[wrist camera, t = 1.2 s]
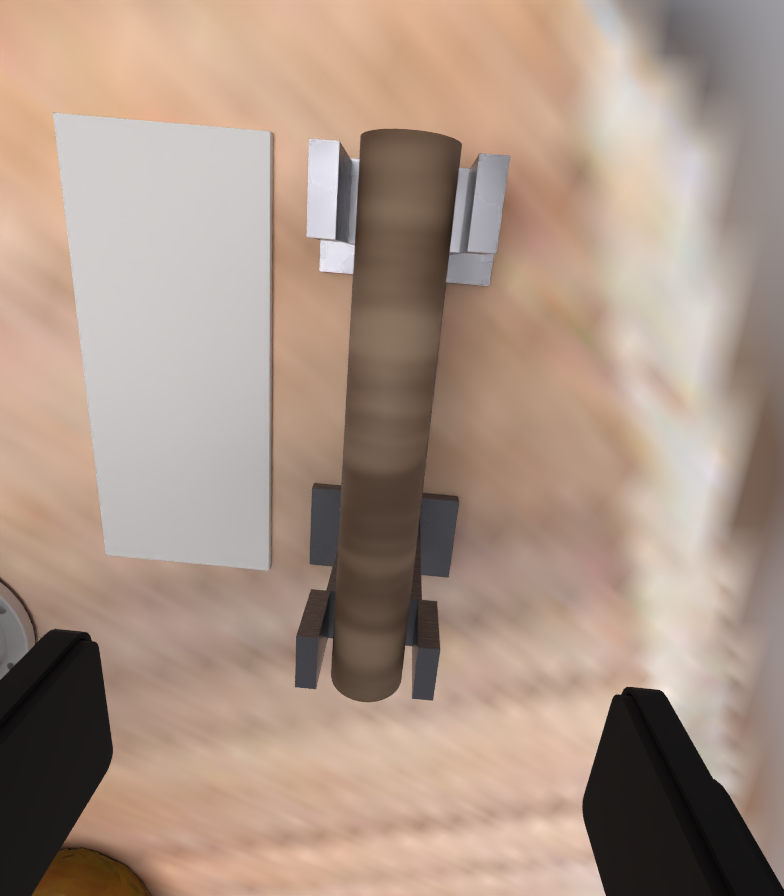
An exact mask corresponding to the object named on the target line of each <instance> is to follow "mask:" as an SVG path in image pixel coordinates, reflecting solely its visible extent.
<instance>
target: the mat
mask: <svg viewBox="0 0 784 896" xmlns="http://www.w3.org/2000/svg"><path fill="white" fill-rule="evenodd" d="M53 117H54V125H55V134H56V142H57V151H58V159H59V167H60V176H61V184H62V192H63V201H64V209H65V218H66V226H67V234H68V243H69V251H70V260H71V268H72V276H73V285H74V293H75V302H76V310H77V318H78V327H79V335H80V344H81V352H82V360H83V369H84V377H85V385H86V394H87V402H88V411H89V419H90V427H91V436H92V444H93V453H94V461H95V469H96V478H97V486H98V495H99V503H100V511H101V520H102V528H103V536H104V545H105V553H106V555H110V556H120V557H131V558H141V559H152V560H162V561H173V562H183V563H194V564H204V565H215V566H225V567H236V568H246V569H257V570H267V571H269V569H270V567H271V446H272V238H273V133H271V132H270V131H260V130H248V129H236V128H225V127H213V126H202V125H190V124H178V123H167V122H155V121H144V120H132V119H120V118H109V117H97V116H86V115H74V114H62V113H53Z"/></svg>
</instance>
